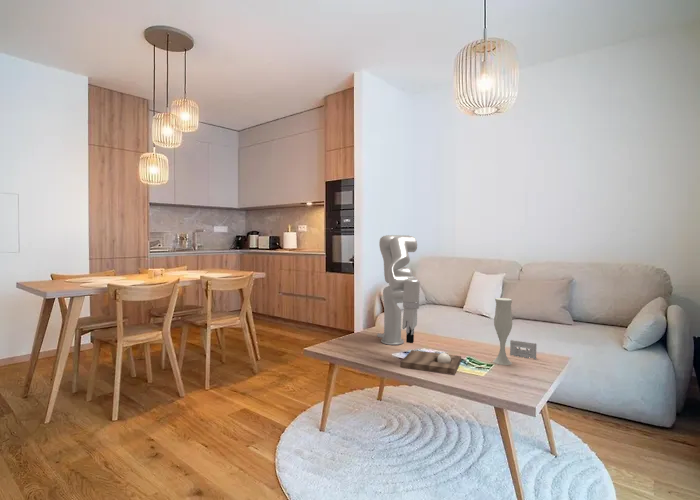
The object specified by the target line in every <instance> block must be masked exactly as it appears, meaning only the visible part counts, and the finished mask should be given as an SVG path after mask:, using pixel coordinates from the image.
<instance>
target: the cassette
mask: <svg viewBox="0 0 700 500" xmlns="http://www.w3.org/2000/svg"><path fill="white" fill-rule="evenodd" d="M537 346H538V344H537V343H536V342H529V341H521V340H520V341H519V340H514V339H511V340H510V347H509V351H510V352H509V355H510V356H512V355H514V357H517V356H519V357H518V358H523V357H525V359H529V357H530V358H534V359H533V360H537ZM521 348H523V349H521Z"/></svg>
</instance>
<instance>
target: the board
mask: <svg viewBox="0 0 700 500" xmlns="http://www.w3.org/2000/svg"><path fill="white" fill-rule="evenodd" d="M440 354H441V353H439V352H430V351H422V350H415V349H414V350H413V349H412V350H411V351H409V353H407V355H405V357H404V358H402V360H401V361H400V368H406V369H412V370H419V371H426V372H433V373H442V374H448V375H453V376H455V375H456V374H457V371H458V369H459V367H460V364H461V363H462V356H461V355H455V354H448V355H449V356H450V358H451V362H450V363H439V362H438V360H437V358H438V356H439V355H440Z"/></svg>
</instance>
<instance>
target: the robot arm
mask: <svg viewBox="0 0 700 500" xmlns="http://www.w3.org/2000/svg"><path fill="white" fill-rule="evenodd" d="M417 250H418V242H417V239H416V238H415V237H414V236H412V235H409V234H408V235H404V234H403V235H401V234H400V235H399V234H398V235H397V234H396V235H395V234H391V235H389V234H388V235H387V234H386V235H383V236H381V237H380V239H379V251H380V253H381V255H382V259H383V275H384V281H385V282H386V283H387V284H388V286H385V287H384V288H383V289H382V297H383V298H382V299H383V309H384V312H383V313H384V314H383V315H384V316H383V324H384V325H383V333H379V332H378V333H376V334H377V335H376V336H377V338H380V339H381V340H380V341H381V342H380V343H382V344H384V345H389V346H399V345H403V344H404V343H405V341H406V344H413V343H414V342H415V341H414V340H415V328H416V326H417V325H418V310H419V309H420V290H421V289H420V287H421V286H420V283H421V282H420V280H419V279H418V278H417V276H414V274H413V270H412V268H411V267H408V265H409V263H410V261H411V258H410V254H409V253H415V252H416V251H417ZM398 304H402V308H403V314H402V309H401V307H399V305H398ZM402 330H405V334H406V338H405V339H406V340H404V339H403V338H402Z"/></svg>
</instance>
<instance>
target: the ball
mask: <svg viewBox="0 0 700 500" xmlns="http://www.w3.org/2000/svg"><path fill="white" fill-rule="evenodd" d="M449 355H450V354H448V353H446V352H441V353H440V355H439V356H438V358H437V360H438V362H439V363H450V362H451V358H450V356H449Z"/></svg>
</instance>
